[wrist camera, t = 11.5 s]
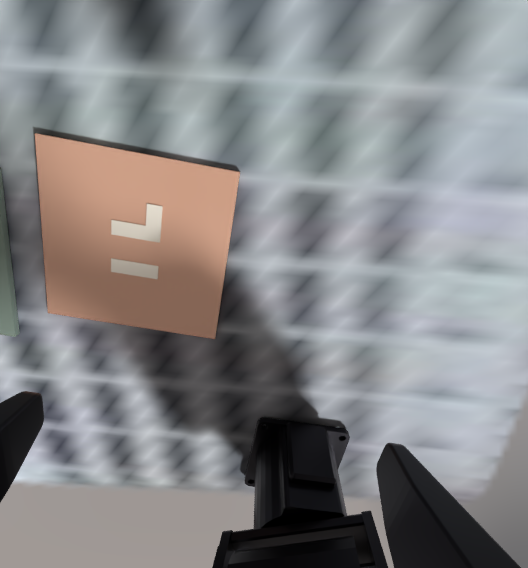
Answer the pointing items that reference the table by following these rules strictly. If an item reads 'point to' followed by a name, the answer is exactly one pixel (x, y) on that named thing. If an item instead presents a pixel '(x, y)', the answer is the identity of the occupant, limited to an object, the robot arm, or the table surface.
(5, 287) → the green mat
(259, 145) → the table surface
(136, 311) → the tile
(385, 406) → the table surface
